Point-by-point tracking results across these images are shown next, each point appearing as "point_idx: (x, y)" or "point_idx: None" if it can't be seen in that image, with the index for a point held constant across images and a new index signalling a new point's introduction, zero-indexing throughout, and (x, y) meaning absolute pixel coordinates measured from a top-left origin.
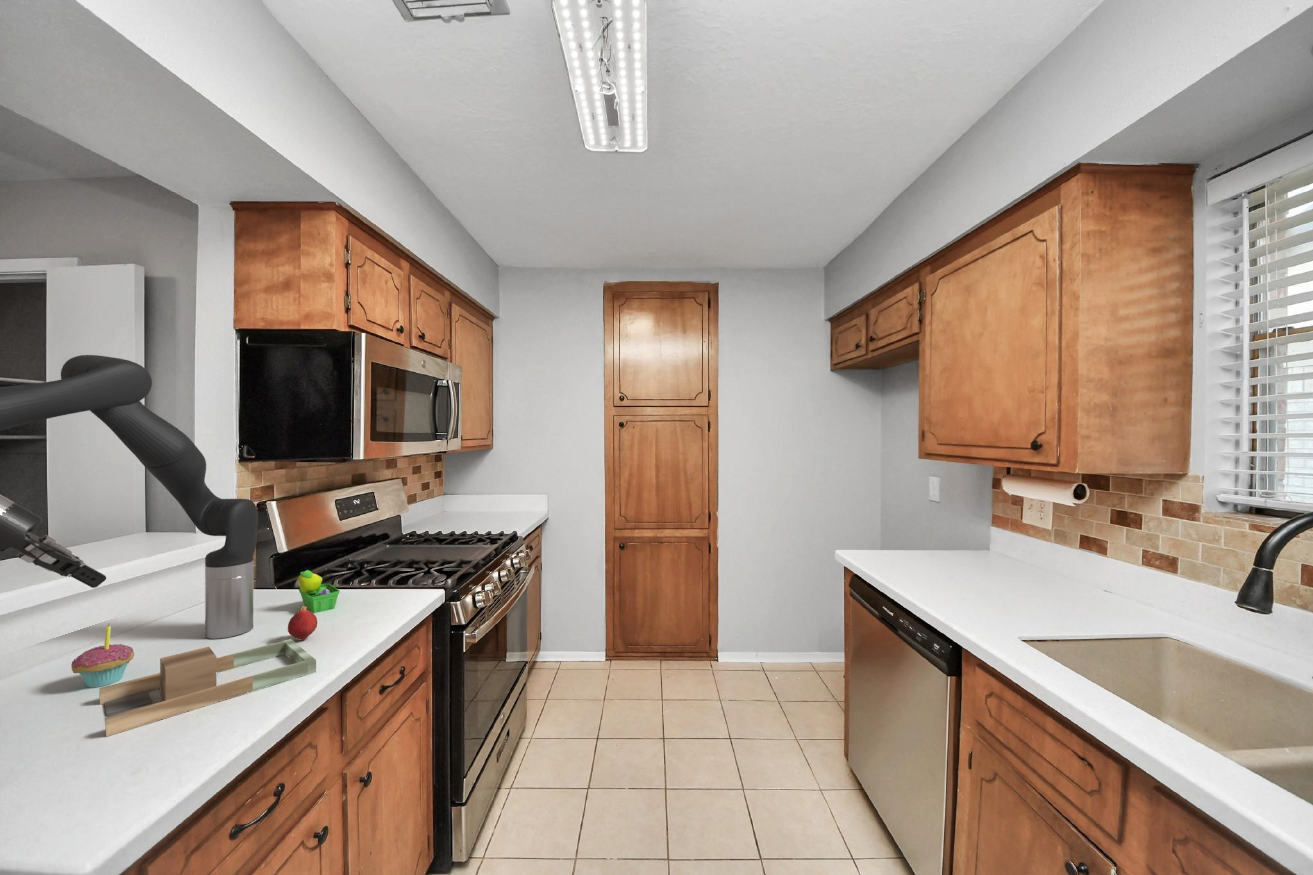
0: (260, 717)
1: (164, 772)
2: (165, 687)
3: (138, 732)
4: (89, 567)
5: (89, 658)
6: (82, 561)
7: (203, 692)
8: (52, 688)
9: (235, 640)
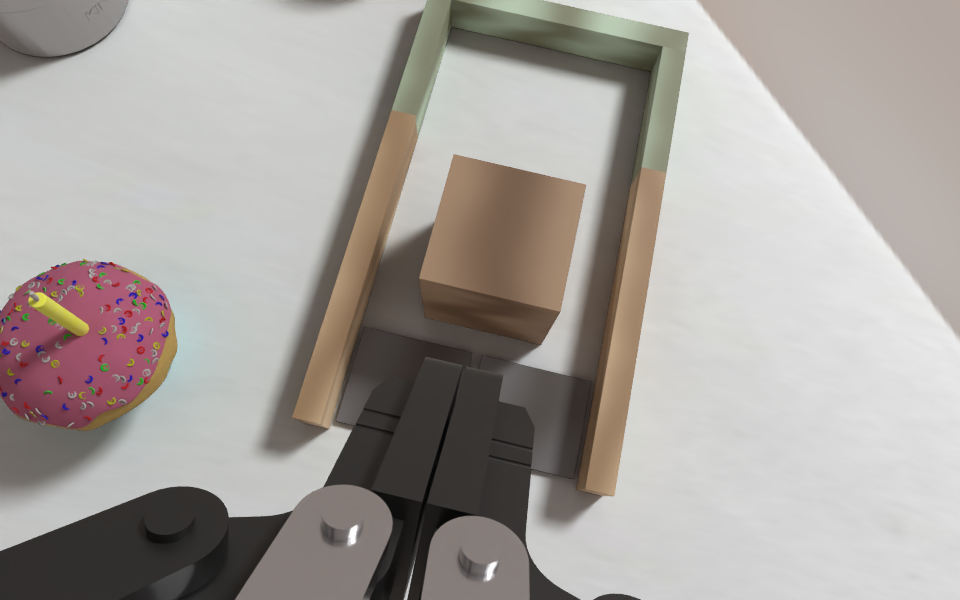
0: (840, 256)
1: (954, 491)
2: (546, 328)
3: (652, 442)
4: (455, 472)
5: (102, 388)
6: (366, 514)
7: (645, 280)
8: (10, 460)
9: (167, 30)
